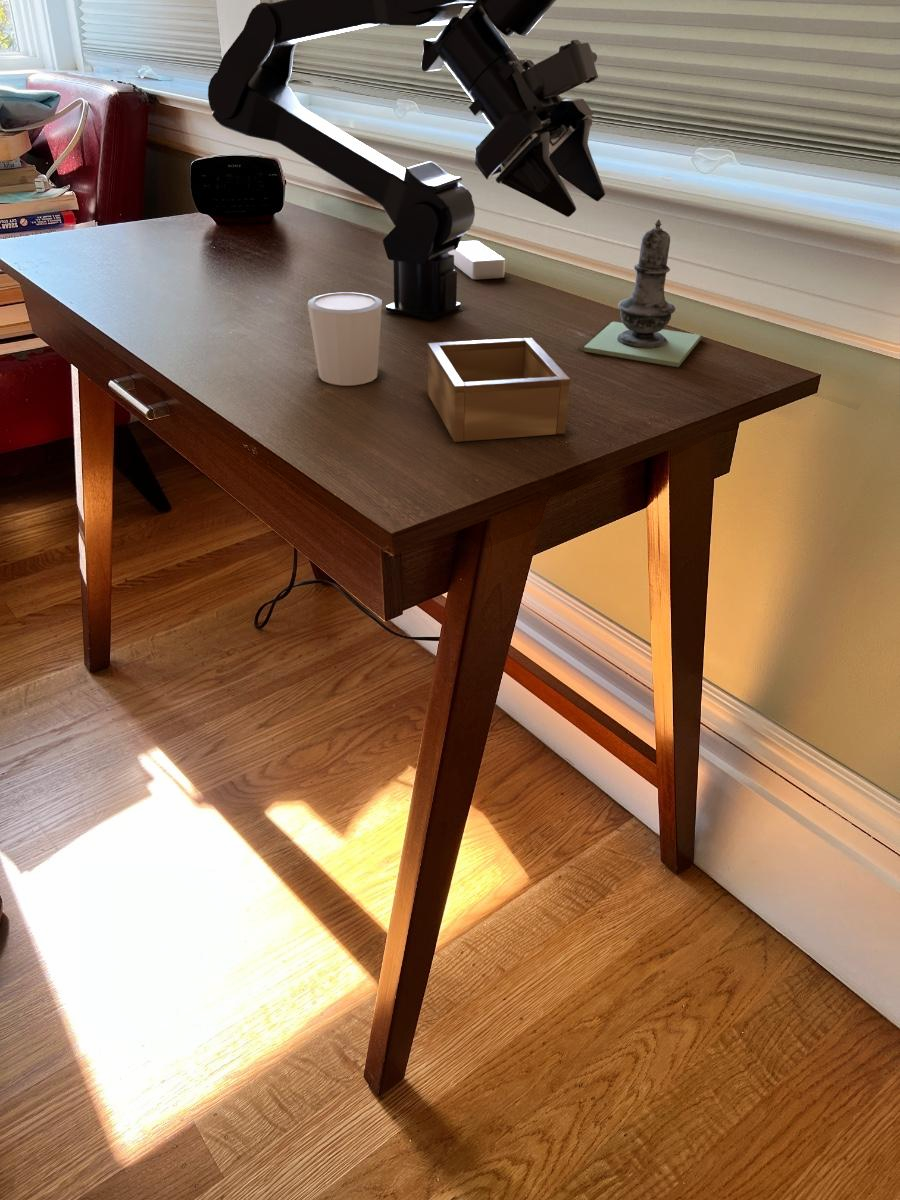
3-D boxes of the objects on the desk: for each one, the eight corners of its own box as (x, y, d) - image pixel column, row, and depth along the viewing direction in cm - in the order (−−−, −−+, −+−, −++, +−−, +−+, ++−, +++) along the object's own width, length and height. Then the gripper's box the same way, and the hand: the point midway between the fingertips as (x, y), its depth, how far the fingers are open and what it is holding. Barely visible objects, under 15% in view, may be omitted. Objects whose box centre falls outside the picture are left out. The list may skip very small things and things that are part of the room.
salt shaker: (681, 342, 95) (701, 221, 89) (645, 353, 92) (663, 228, 86) (638, 328, 99) (654, 211, 92) (602, 338, 96) (616, 217, 89)
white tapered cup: (355, 393, 83) (352, 316, 79) (297, 378, 86) (291, 303, 82) (398, 371, 88) (397, 298, 84) (341, 358, 91) (338, 286, 87)
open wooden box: (427, 394, 83) (427, 342, 80) (528, 387, 85) (531, 337, 82) (453, 442, 74) (454, 386, 72) (565, 434, 76) (571, 379, 74)
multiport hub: (473, 279, 117) (473, 261, 115) (447, 259, 125) (447, 241, 124) (505, 277, 118) (506, 259, 116) (477, 257, 126) (477, 240, 125)
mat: (583, 351, 94) (583, 346, 94) (611, 325, 101) (612, 321, 101) (678, 367, 90) (679, 362, 90) (700, 339, 98) (701, 334, 98)
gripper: (511, 6, 77) (622, 159, 79) (582, 6, 91) (674, 136, 93) (429, 106, 84) (532, 244, 86) (506, 91, 98) (593, 210, 100)
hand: (587, 205), depth 91 cm, fingers open, 9 cm apart
